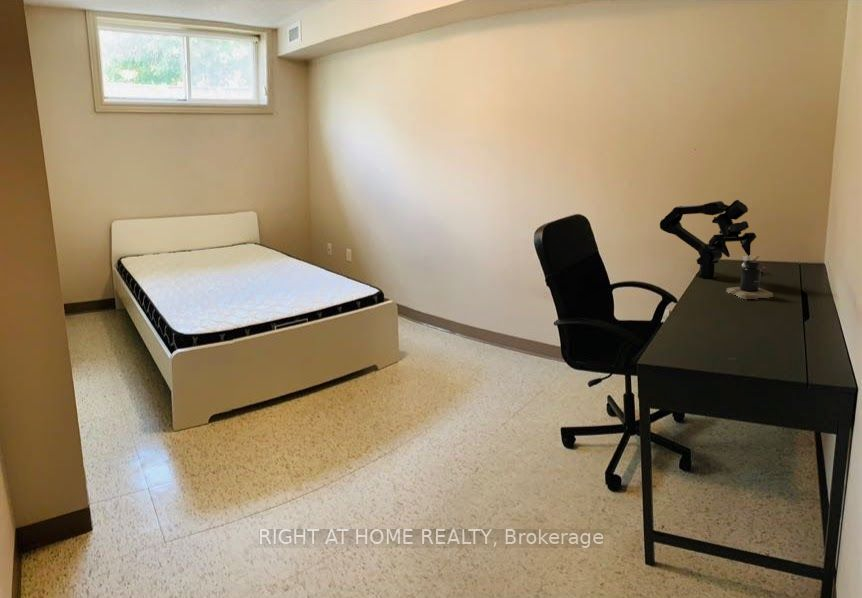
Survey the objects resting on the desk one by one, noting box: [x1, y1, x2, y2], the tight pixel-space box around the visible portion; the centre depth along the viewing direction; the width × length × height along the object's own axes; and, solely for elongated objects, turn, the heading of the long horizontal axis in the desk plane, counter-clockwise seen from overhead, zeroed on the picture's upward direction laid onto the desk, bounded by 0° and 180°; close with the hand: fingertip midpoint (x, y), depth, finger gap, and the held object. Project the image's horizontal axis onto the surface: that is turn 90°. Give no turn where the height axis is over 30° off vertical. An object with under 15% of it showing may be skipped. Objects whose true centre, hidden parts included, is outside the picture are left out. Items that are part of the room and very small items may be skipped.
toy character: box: [741, 255, 766, 273], centre depth 277 cm, size 10×9×12 cm
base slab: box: [726, 286, 774, 301], centre depth 244 cm, size 12×12×2 cm
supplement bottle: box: [739, 259, 762, 292], centre depth 242 cm, size 7×7×12 cm
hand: (739, 256), depth 253 cm, fingers open, 9 cm apart
